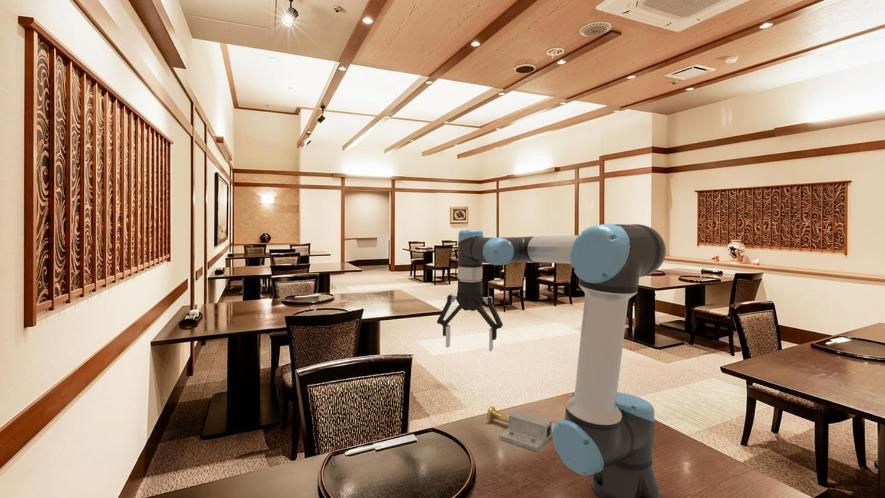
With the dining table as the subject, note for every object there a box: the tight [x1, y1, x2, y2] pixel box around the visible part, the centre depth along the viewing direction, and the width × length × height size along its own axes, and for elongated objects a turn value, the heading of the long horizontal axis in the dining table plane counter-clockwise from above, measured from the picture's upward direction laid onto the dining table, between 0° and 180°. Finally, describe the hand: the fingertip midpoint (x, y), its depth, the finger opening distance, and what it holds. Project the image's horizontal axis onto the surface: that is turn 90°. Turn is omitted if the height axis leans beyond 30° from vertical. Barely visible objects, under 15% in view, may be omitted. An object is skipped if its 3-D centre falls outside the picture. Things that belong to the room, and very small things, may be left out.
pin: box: [486, 406, 510, 424], centre depth 134 cm, size 13×4×4 cm, turn 54°
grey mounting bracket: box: [498, 409, 557, 453], centre depth 130 cm, size 12×17×5 cm
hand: (469, 348), depth 132 cm, fingers open, 13 cm apart
